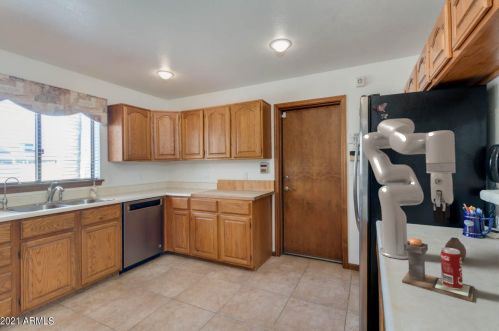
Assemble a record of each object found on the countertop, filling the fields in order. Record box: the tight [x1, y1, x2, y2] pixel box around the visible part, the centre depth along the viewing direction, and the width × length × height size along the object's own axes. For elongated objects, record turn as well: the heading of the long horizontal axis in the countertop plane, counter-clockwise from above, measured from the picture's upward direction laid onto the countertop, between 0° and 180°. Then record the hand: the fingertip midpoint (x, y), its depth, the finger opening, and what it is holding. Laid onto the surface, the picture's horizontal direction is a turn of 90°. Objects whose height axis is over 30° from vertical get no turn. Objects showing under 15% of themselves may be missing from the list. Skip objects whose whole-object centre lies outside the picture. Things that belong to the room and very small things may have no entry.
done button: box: [408, 238, 423, 247], centre depth 85 cm, size 4×4×2 cm
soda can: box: [440, 247, 464, 290], centre depth 78 cm, size 5×5×12 cm
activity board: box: [401, 240, 475, 303], centre depth 81 cm, size 18×10×13 cm, turn 44°
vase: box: [444, 237, 467, 261], centre depth 101 cm, size 7×7×9 cm
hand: (442, 219), depth 79 cm, fingers open, 9 cm apart
